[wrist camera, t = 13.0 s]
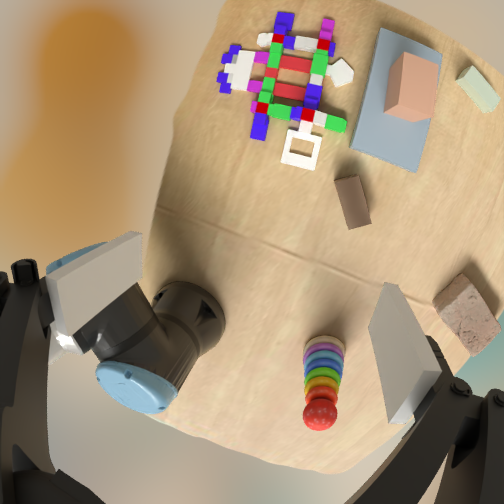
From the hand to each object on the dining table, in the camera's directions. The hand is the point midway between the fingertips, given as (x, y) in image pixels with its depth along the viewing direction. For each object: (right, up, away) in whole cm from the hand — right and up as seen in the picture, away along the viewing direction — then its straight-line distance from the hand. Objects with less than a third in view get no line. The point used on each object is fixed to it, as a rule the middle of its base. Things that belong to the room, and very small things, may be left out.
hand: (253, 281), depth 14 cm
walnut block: (+15, +9, +26) cm, 32 cm away
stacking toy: (+14, -17, +36) cm, 42 cm away
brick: (+40, -10, +27) cm, 50 cm away
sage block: (+36, +27, +15) cm, 47 cm away
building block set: (+5, +27, +23) cm, 36 cm away
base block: (+21, +24, +20) cm, 38 cm away
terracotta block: (+20, +23, +16) cm, 35 cm away
